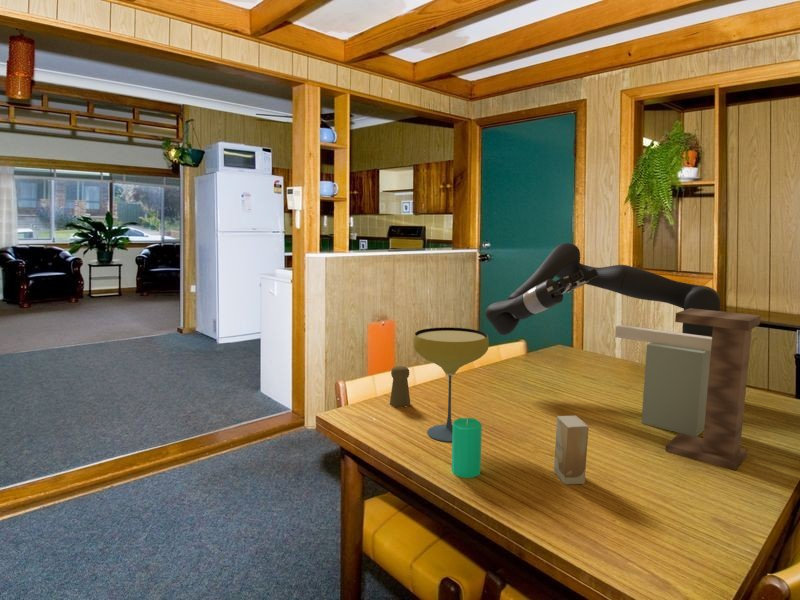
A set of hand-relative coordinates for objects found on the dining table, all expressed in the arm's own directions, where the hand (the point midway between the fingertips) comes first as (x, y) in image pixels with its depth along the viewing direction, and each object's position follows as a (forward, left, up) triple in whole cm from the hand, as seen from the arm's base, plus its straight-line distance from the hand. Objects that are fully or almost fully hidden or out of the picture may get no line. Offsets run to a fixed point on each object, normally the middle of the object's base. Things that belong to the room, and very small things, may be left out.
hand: (589, 272), depth 147 cm
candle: (+52, -18, -38) cm, 67 cm away
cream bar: (+3, +20, -17) cm, 27 cm away
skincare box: (+46, +2, -38) cm, 60 cm away
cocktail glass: (+34, -28, -38) cm, 59 cm away
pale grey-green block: (+4, +23, -38) cm, 45 cm away
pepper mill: (+19, -48, -38) cm, 64 cm away
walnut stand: (+21, +29, -38) cm, 52 cm away
